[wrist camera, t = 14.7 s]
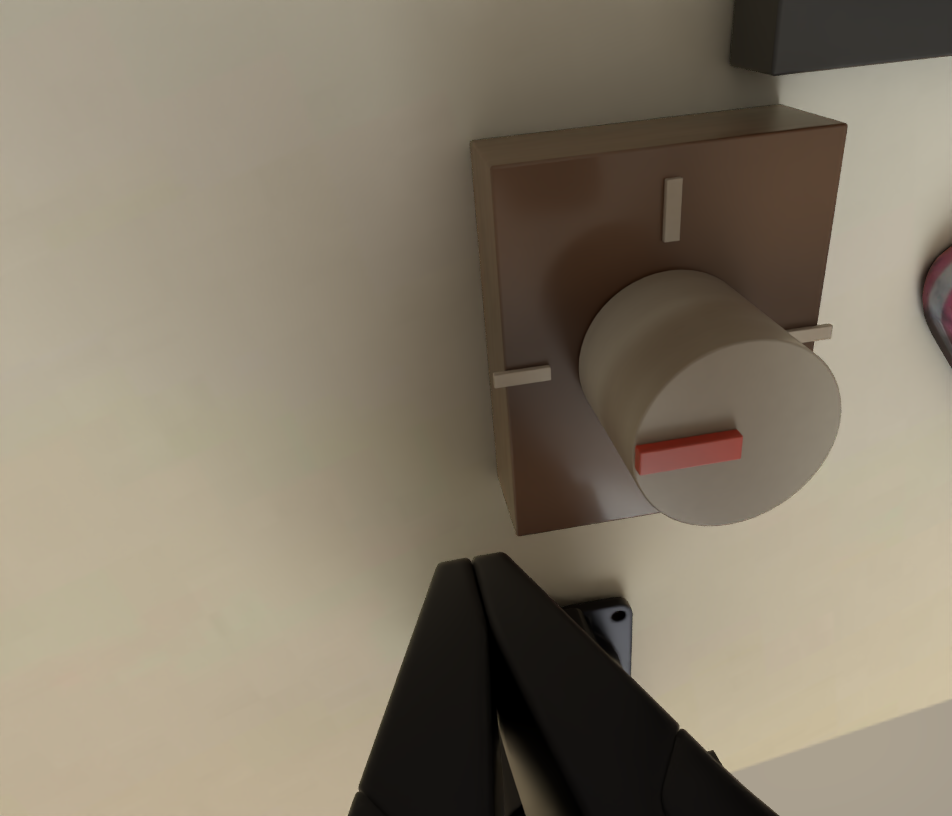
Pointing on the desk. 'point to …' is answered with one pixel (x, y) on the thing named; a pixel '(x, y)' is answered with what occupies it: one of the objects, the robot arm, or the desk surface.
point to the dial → (707, 398)
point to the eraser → (940, 302)
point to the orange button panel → (837, 33)
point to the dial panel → (632, 269)
